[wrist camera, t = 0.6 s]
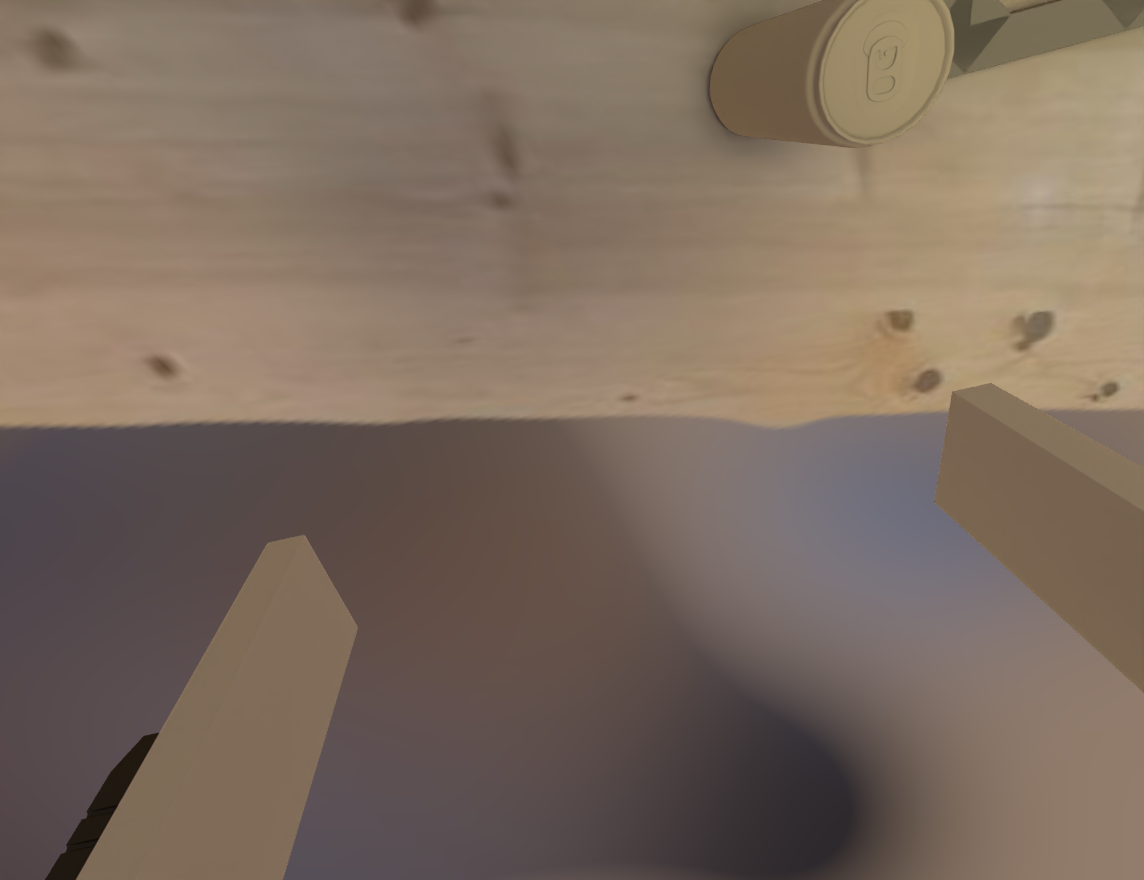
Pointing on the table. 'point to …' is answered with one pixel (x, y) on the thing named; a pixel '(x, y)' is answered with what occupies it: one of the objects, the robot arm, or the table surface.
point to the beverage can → (835, 72)
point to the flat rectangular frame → (1031, 28)
